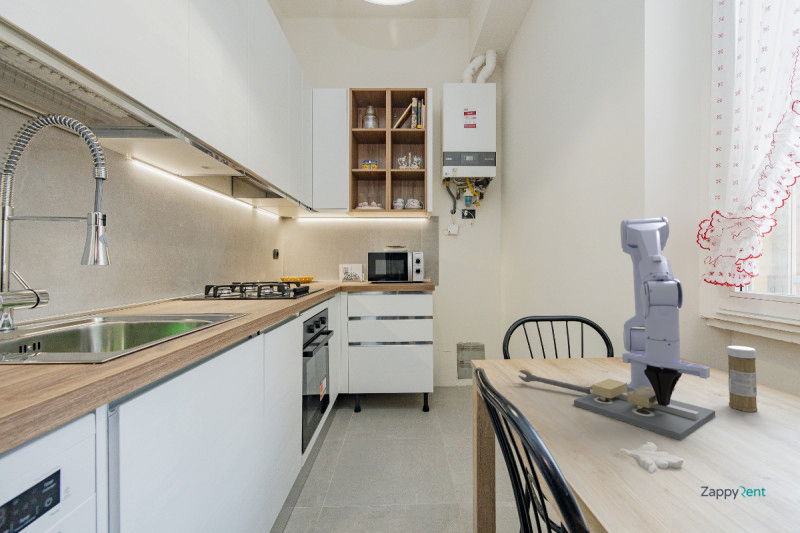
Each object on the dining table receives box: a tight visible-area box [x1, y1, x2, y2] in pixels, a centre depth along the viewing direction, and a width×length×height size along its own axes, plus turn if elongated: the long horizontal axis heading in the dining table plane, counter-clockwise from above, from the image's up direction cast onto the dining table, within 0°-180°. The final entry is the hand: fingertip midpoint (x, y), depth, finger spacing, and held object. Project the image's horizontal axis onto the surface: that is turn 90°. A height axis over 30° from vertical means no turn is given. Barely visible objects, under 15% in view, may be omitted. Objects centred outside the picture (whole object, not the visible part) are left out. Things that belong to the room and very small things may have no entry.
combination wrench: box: [517, 369, 592, 395], centre depth 89 cm, size 4×1×20 cm
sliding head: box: [627, 386, 658, 411], centre depth 74 cm, size 8×4×3 cm, turn 123°
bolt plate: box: [573, 378, 716, 441], centre depth 75 cm, size 18×20×4 cm
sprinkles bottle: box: [726, 345, 758, 413], centre depth 76 cm, size 5×5×14 cm
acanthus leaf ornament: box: [619, 441, 684, 474], centre depth 57 cm, size 8×7×2 cm
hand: (663, 404), depth 71 cm, fingers closed
